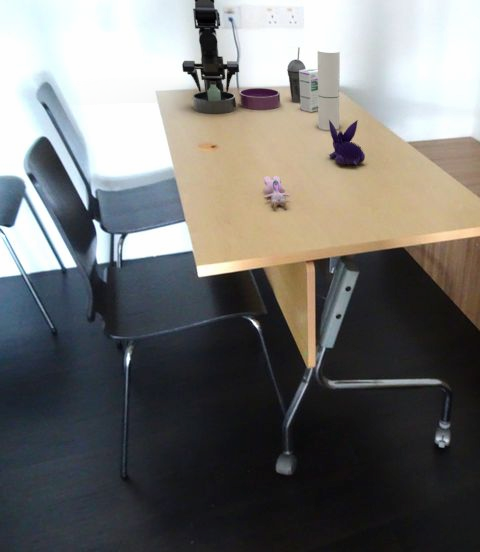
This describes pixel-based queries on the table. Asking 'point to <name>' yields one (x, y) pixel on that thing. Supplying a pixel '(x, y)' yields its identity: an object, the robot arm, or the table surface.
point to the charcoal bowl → (214, 103)
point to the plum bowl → (259, 98)
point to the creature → (346, 146)
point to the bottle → (213, 92)
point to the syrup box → (309, 89)
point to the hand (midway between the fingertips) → (213, 91)
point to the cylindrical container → (328, 88)
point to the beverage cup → (295, 78)
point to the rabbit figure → (275, 191)
